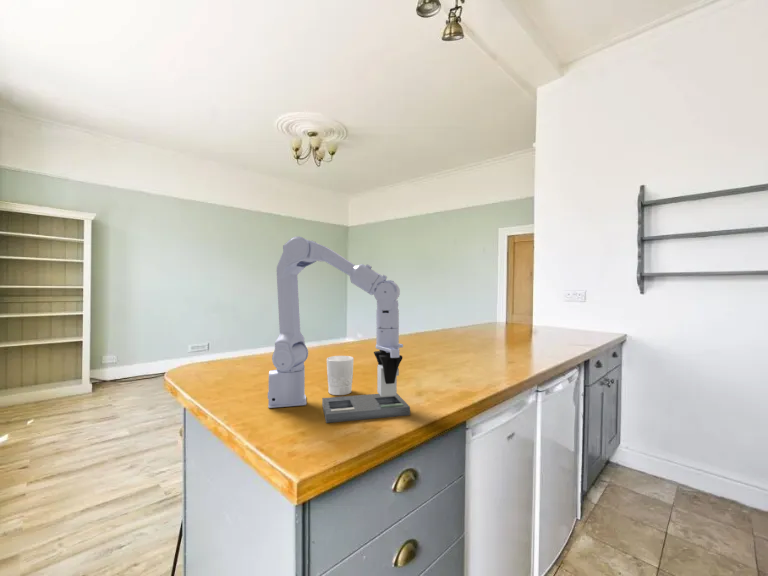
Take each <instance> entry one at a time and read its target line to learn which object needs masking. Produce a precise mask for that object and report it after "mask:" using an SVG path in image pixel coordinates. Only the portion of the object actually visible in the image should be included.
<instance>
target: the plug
mask: <svg viewBox="0 0 768 576" xmlns="http://www.w3.org/2000/svg"><path fill="white" fill-rule="evenodd" d="M376 371H377V372H376V373H377V374H376V375H377V377H376V378H377V383H376V384H377V390H376V391H377V394H380V396H394V395H397V394H398V392H397V380H398V379H397V378H398V377H399V375H400V372H399V371H400V370H399V367H398V370H397V374H396V378H395V382H394V383H392V384H386V382H385V378H384V370H383V366H382V365H378V364H377V370H376Z"/></svg>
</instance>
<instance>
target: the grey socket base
mask: <svg viewBox="0 0 768 576" xmlns="http://www.w3.org/2000/svg"><path fill="white" fill-rule="evenodd" d="M321 406H322V410H323V414H324V419H325V423H326V424H328V423H329V424H330V423H339V422H340V423H342V422H350V421H363V420H372V419H381V418H382V419H384V418H394V417H404V416H411V407H410V405H409V404H408V403H407V402H406V401H405V400H404V399H403V398H402V397H401V396H400V395H399V394H398V393H397V395H394V396H380V394H379V393H370V394H360V395H359V394H357V395H346V396H345V395H342V396H335V397H333V396H331V397H322V404H321Z"/></svg>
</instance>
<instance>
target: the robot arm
mask: <svg viewBox="0 0 768 576" xmlns="http://www.w3.org/2000/svg"><path fill="white" fill-rule="evenodd" d="M316 262H322V263H323V262H324V263H326V264H328V265H330V266H332V267H333V268H335V269H337V270H339V271H341V272H342V273H344V274H345V275H348V276H349V279H350V282H351V284H353V286H356V287H358V288H360V290H363V291H364V292H366V293H367V294H369V295H371V296H374V299H375V300H376V310H375V311H376V313H375V314H376V315H375V317H376V325H375V328H376V329H375V330H376V335H375V336H376V338H375V340H376V344H375V349H377V351H376V350H375V351H373V354H374V356H375V358H376V362H377V365H382V366H383V370H384V378H385V382H386V384H392V383H394V382H395V378H396V374H397V370H398V368H399V366H400V364H401V362H402V360H403V355H401V354H400V348H404V344H402V343H399V341H400V340H399V339H400V336H399V334H400V333H399V332H400V329H399V327H400V326H399V325H400V319H399V317H400V316H399V315H400V313H399V311H400V310H399V300H398V299H399V297H400V294H401V290H400V287H399V285H398V284H397V283H396V282H395V281H394V280H392V279H391V280H389V279H388V280H387V278H388V276H387V275H385V274H382V275H381V274H380V273H378V272H377V271H375V270H374V269H372V265H370V264H366V265H365V264H364V263H361V264H357V265H356V264H354V263H352V262H351V261H349V260H348V259H347V258H345V257H343V256H342V255H341V254H339V253H338V252H336V251H335V250H333V249H331V248H329V247H327V246H325V245H323V244H320V243H318V242H316V241H313V240H309V239H307V238H305V237H302V236H300V235H298V236H297V235H295V236H293V237H291V238H290V239H288V240H287V242H285V243H284V244H283V245H282V253H281V255H280V258H279V260H278V264H277V265H276V286H277V301H278V302H277V306H278V325H279V326H278V327H279V329H278V330H279V335H278V337H276V340H275V341H274V351H273V353H272V356H271V360H272V365H273V366H274V368H275V369H273V370H269V372H268V392H267V399H268V405H267V406H268V408H269V409H272V408H284V407H286V408H287V407H299V406H306V405H307V395H306V394H305V391H306V390H305V385H306V384H305V382H306V381H305V379H306V377H305V372H306V371H305V362H306V360H307V359H308V357H309V349H308V346H306V343H305V337H304V335H303V334H302V332H301V324H300V323H301V321H300V319H301V318H300V303H299V302H300V299H299V298H300V297H299V280H298V279H299V278H298V275H299V274H300V273H301V272H302V271H303V270H304V269H305V268H306V267H308V266H311V265H313V264H315V263H316Z"/></svg>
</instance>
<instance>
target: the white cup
mask: <svg viewBox="0 0 768 576" xmlns="http://www.w3.org/2000/svg"><path fill="white" fill-rule="evenodd" d="M326 373H327V374H326V375H327V385H328V393H329V394H330V395H333V396H345V395H346V396H347V395H349V394H350V393H352V390H353V388H352V385H353V376H354V374H353V373H354V357H353V356H349V355H334V356H333V355H332V356H329V357H327V358H326Z"/></svg>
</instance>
